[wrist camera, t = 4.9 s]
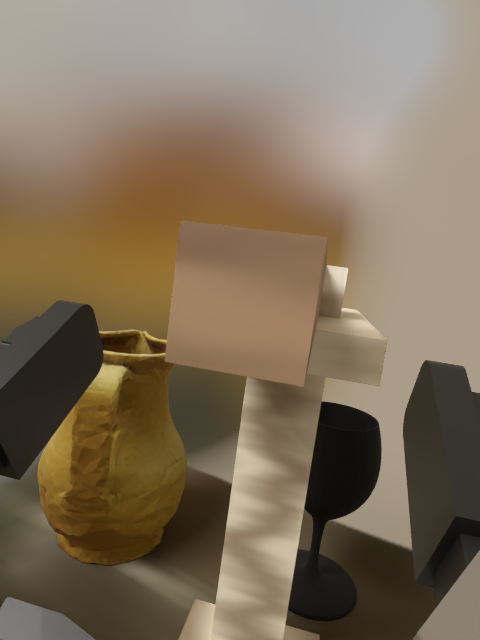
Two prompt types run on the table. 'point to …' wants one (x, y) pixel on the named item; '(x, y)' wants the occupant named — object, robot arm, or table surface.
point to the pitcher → (116, 457)
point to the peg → (250, 300)
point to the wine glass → (334, 505)
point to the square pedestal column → (278, 486)
